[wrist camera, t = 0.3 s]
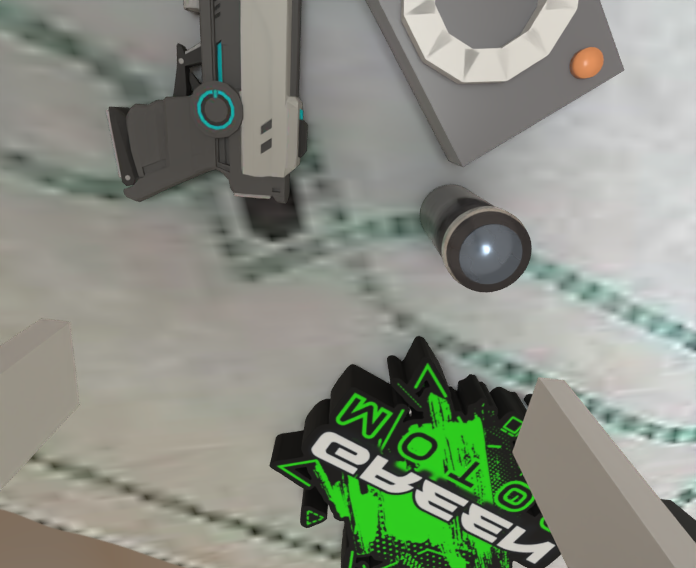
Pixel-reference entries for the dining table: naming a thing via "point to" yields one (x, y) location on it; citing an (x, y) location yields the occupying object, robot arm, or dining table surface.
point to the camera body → (496, 63)
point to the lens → (475, 238)
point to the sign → (418, 470)
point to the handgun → (222, 106)
